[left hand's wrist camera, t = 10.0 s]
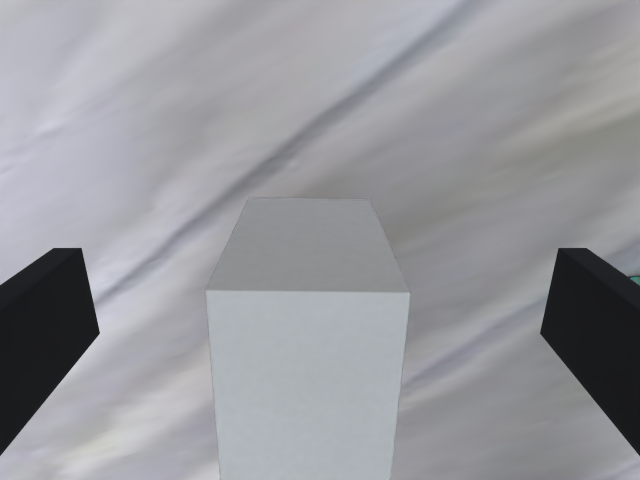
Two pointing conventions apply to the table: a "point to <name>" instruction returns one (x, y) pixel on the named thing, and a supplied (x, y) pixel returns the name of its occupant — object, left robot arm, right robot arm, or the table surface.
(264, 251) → the box
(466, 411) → the table surface
